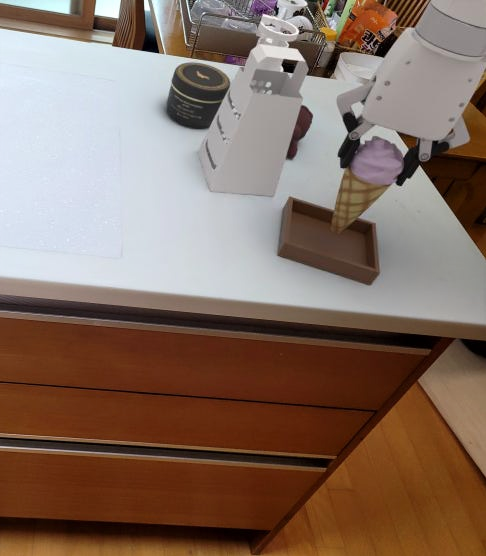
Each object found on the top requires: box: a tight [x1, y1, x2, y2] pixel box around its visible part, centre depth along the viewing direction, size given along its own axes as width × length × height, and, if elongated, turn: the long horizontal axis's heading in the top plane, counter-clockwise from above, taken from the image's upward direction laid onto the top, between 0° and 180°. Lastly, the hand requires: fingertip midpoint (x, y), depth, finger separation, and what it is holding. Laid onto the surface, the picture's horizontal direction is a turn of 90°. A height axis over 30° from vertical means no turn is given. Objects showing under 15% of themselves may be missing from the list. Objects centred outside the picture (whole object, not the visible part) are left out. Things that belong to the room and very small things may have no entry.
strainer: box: [244, 13, 300, 94], centre depth 102 cm, size 7×7×15 cm
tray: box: [277, 196, 381, 286], centre depth 79 cm, size 13×11×2 cm
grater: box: [197, 44, 310, 197], centre depth 81 cm, size 10×10×20 cm
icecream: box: [286, 104, 314, 159], centre depth 96 cm, size 7×7×15 cm
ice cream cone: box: [331, 135, 404, 234], centre depth 72 cm, size 7×6×15 cm
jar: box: [166, 61, 231, 129], centre depth 96 cm, size 10×10×8 cm
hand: (370, 170), depth 70 cm, fingers closed on ice cream cone, 6 cm apart
